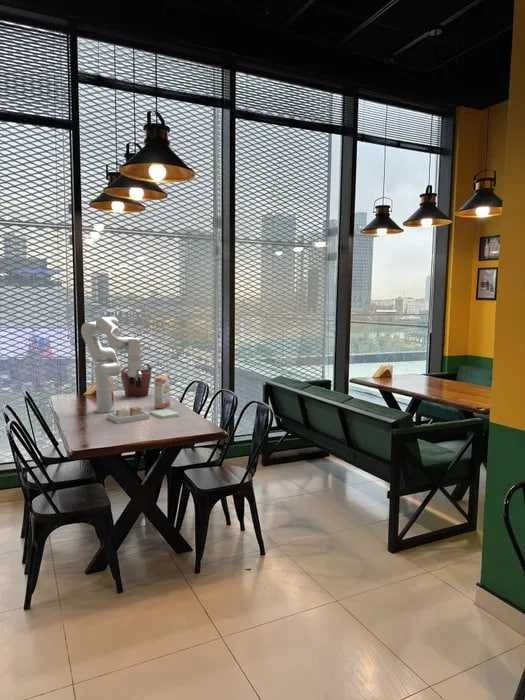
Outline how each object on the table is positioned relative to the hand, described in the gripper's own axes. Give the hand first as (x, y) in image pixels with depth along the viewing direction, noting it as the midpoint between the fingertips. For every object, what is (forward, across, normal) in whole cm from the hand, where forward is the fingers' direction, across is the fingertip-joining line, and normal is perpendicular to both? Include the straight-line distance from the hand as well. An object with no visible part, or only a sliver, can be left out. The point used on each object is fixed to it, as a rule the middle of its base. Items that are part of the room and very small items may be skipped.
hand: (135, 385), depth 306 cm
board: (+20, +5, +17) cm, 27 cm away
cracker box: (+20, -19, +28) cm, 40 cm away
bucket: (+21, -65, +32) cm, 75 cm away
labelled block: (+20, 0, 0) cm, 20 cm away
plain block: (+20, 0, -9) cm, 22 cm away
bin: (+20, 0, -5) cm, 21 cm away
